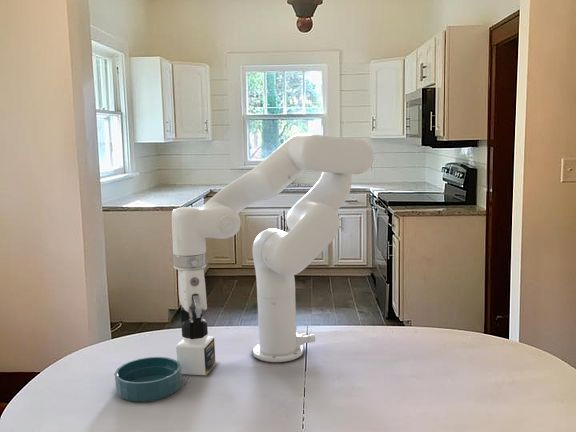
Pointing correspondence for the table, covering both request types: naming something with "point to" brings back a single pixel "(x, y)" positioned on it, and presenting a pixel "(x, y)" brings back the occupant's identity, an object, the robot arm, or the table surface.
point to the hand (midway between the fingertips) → (192, 331)
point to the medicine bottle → (195, 352)
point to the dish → (148, 379)
